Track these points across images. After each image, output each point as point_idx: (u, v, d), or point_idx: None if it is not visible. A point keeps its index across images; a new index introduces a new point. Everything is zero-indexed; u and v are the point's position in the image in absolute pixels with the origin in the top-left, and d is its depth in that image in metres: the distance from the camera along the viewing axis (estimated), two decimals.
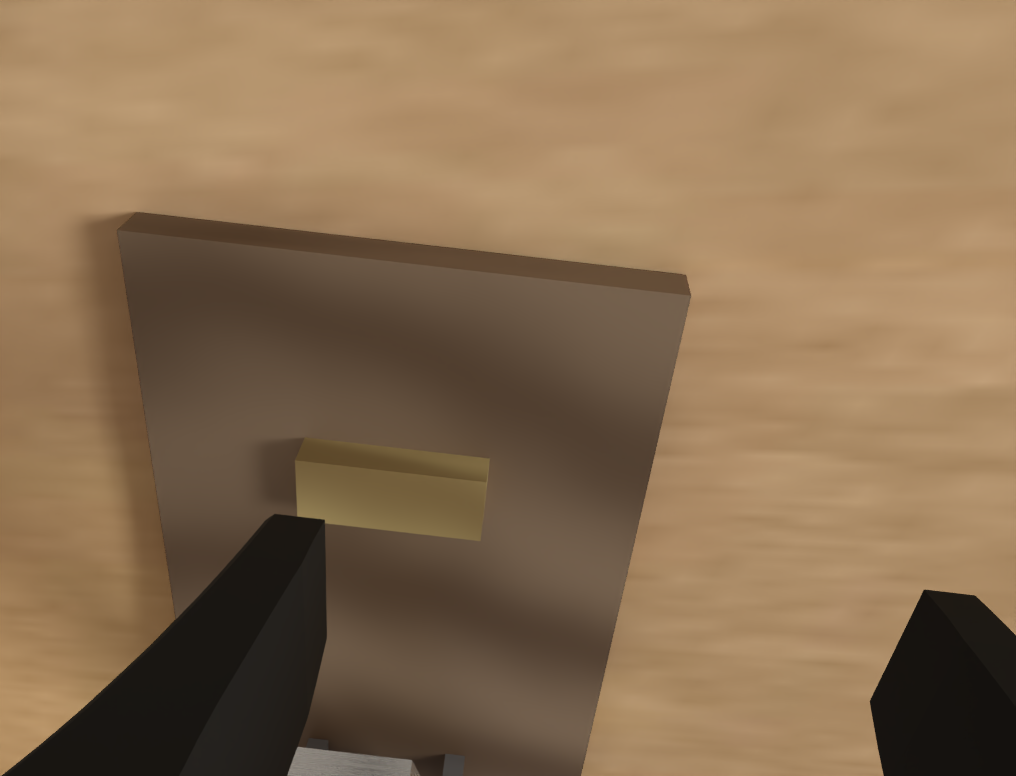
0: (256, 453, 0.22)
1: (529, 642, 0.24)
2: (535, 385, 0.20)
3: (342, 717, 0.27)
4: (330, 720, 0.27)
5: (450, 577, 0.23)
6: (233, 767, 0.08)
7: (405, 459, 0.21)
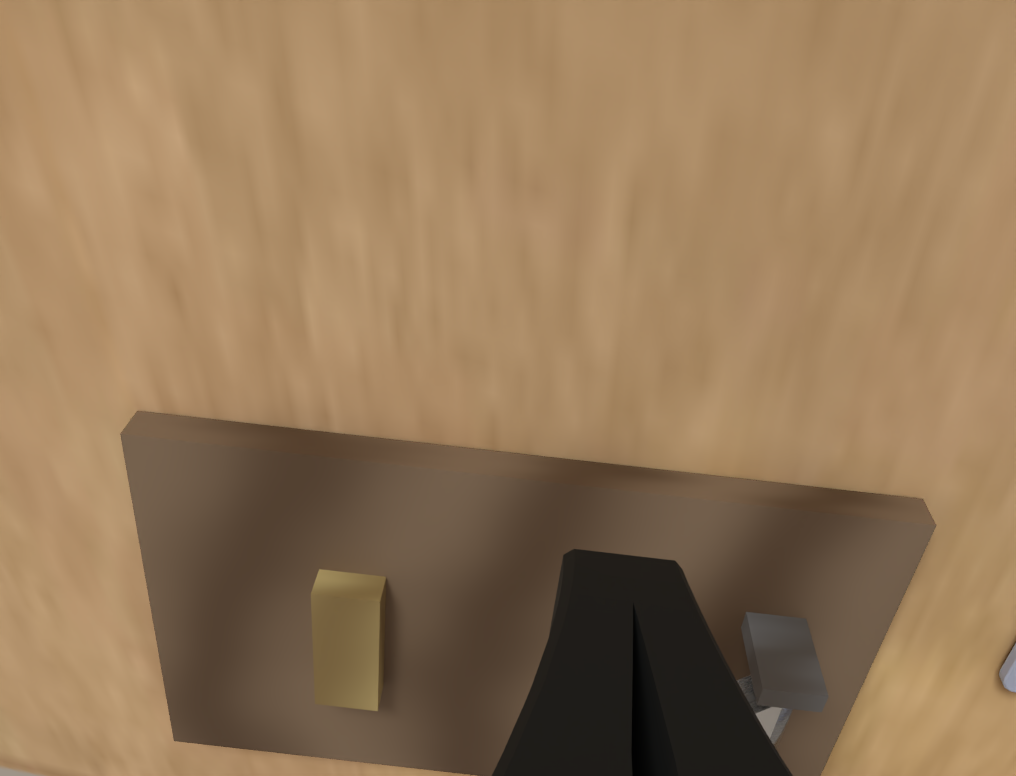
0: (344, 707, 0.27)
1: (553, 550, 0.23)
2: (236, 536, 0.23)
3: None
4: None
5: (466, 604, 0.24)
6: None
7: None
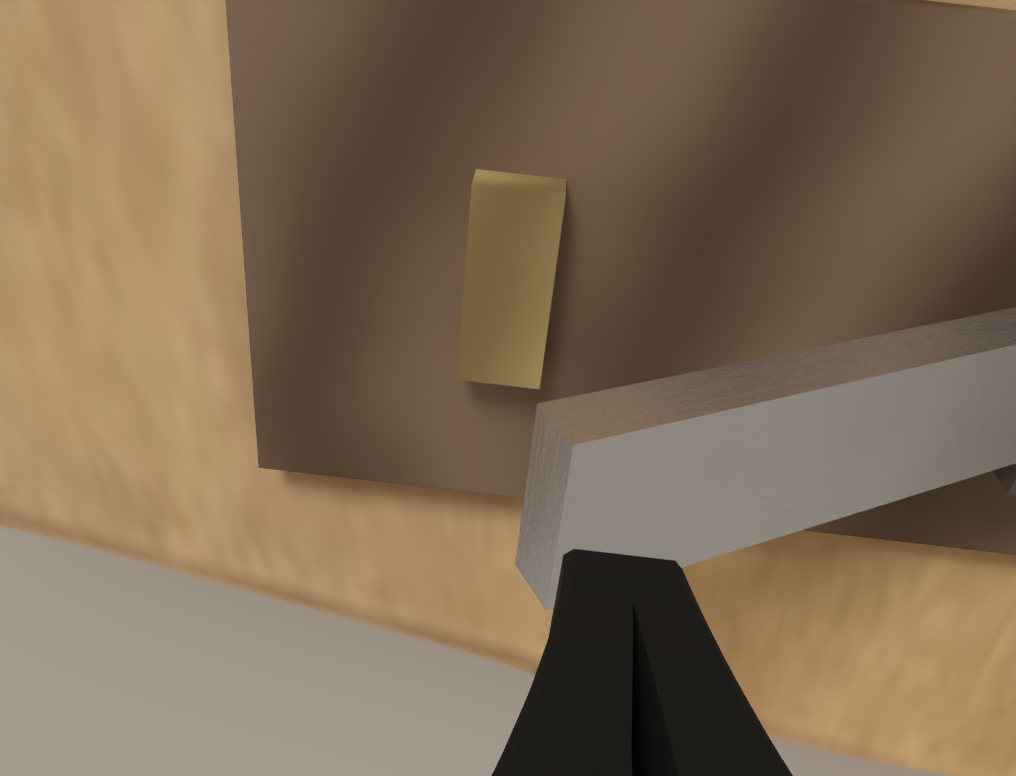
0: (486, 406, 0.21)
1: (803, 123, 0.17)
2: (367, 114, 0.17)
3: None
4: None
5: (670, 224, 0.18)
6: None
7: None
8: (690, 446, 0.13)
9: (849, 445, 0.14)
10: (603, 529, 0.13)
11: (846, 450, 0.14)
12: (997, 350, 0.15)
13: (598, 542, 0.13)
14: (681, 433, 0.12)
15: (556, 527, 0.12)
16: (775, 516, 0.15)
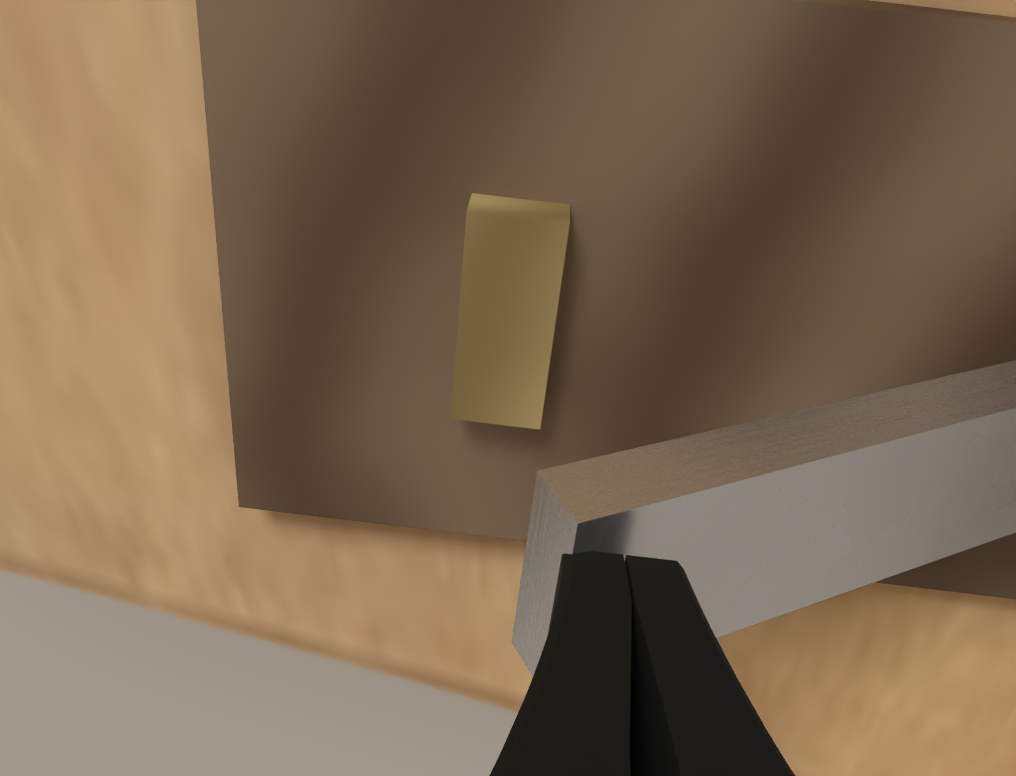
0: (482, 444, 0.19)
1: (830, 145, 0.15)
2: (353, 133, 0.16)
3: None
4: None
5: (683, 253, 0.17)
6: None
7: None
8: (710, 518, 0.11)
9: (884, 508, 0.13)
10: None
11: (880, 512, 0.13)
12: None
13: None
14: (700, 505, 0.11)
15: None
16: (801, 585, 0.13)
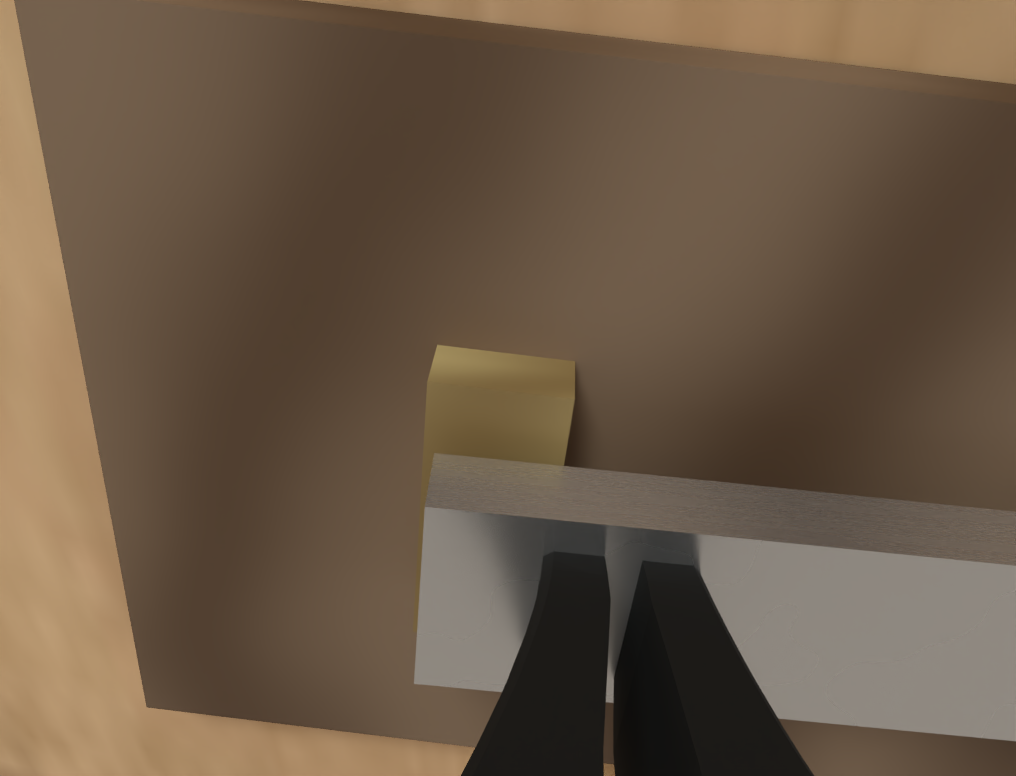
0: None
1: (949, 290, 0.11)
2: (268, 266, 0.11)
3: None
4: None
5: (732, 424, 0.12)
6: None
7: None
8: None
9: (861, 634, 0.11)
10: (480, 618, 0.11)
11: (857, 638, 0.11)
12: None
13: (476, 631, 0.11)
14: (578, 537, 0.10)
15: (419, 594, 0.11)
16: None
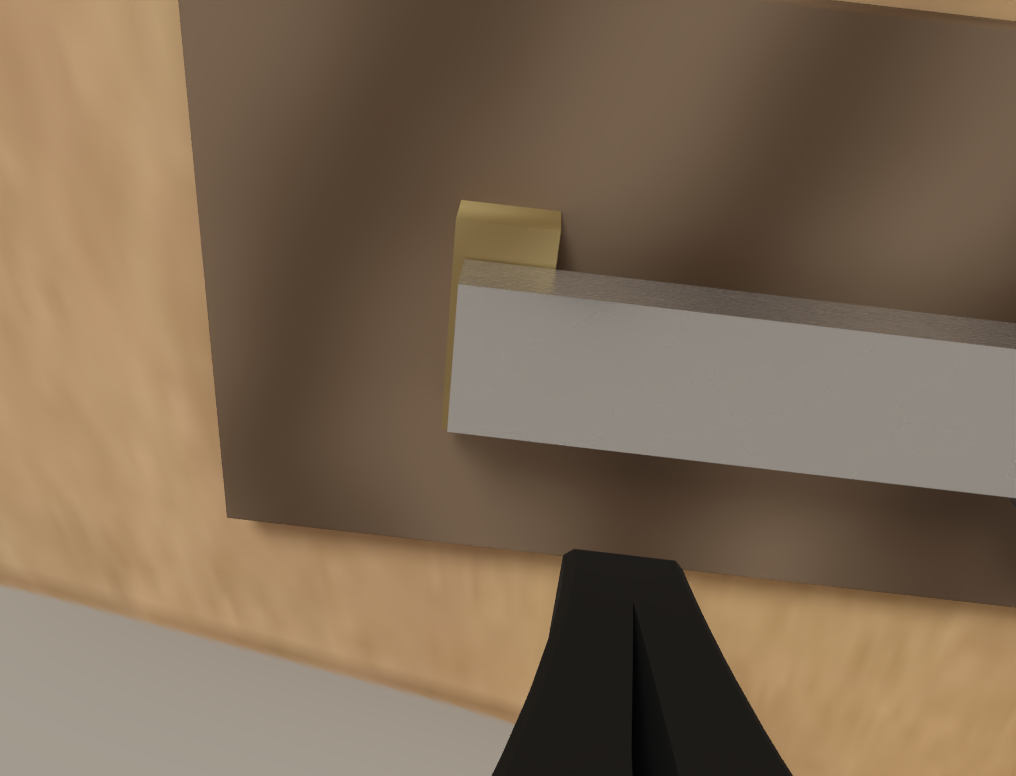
0: (473, 453, 0.19)
1: (825, 151, 0.15)
2: (340, 139, 0.16)
3: None
4: None
5: (676, 260, 0.16)
6: None
7: None
8: (573, 325, 0.15)
9: (761, 389, 0.15)
10: (494, 375, 0.16)
11: (757, 392, 0.16)
12: (951, 343, 0.15)
13: (491, 386, 0.16)
14: (562, 308, 0.15)
15: None
16: (680, 434, 0.16)
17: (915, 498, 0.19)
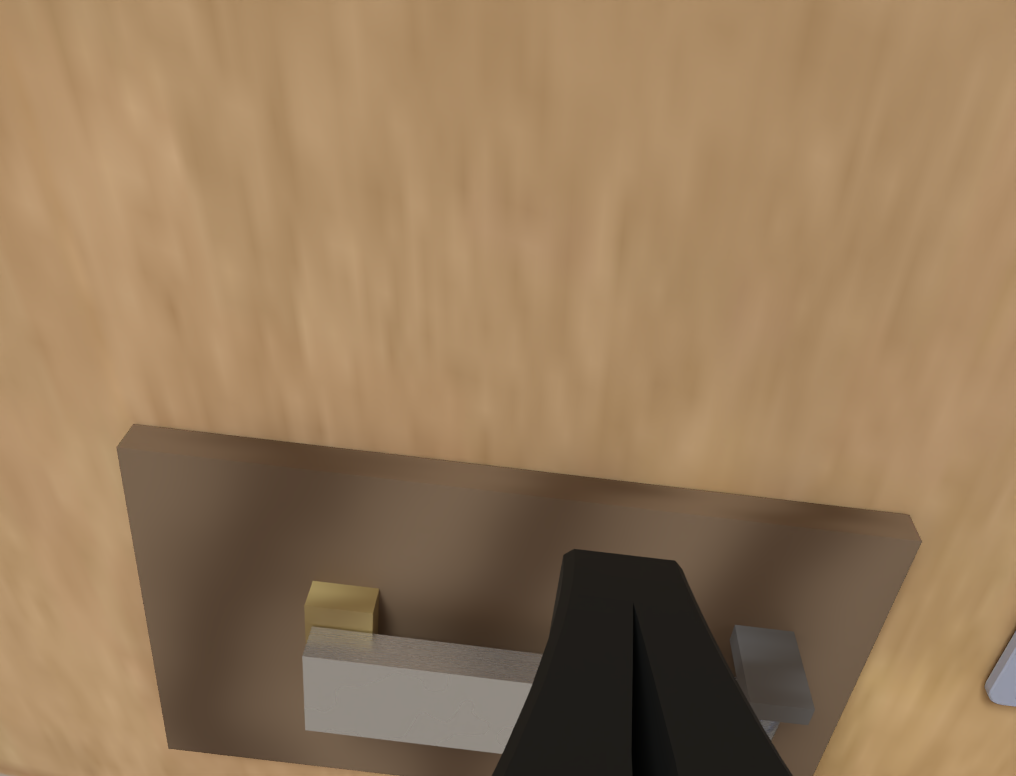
0: None
1: (544, 563, 0.23)
2: (230, 548, 0.24)
3: None
4: None
5: (459, 615, 0.25)
6: None
7: None
8: (379, 678, 0.23)
9: (505, 714, 0.24)
10: (332, 702, 0.24)
11: (503, 716, 0.24)
12: None
13: (331, 707, 0.24)
14: (370, 670, 0.23)
15: (304, 691, 0.24)
16: (458, 736, 0.24)
17: None
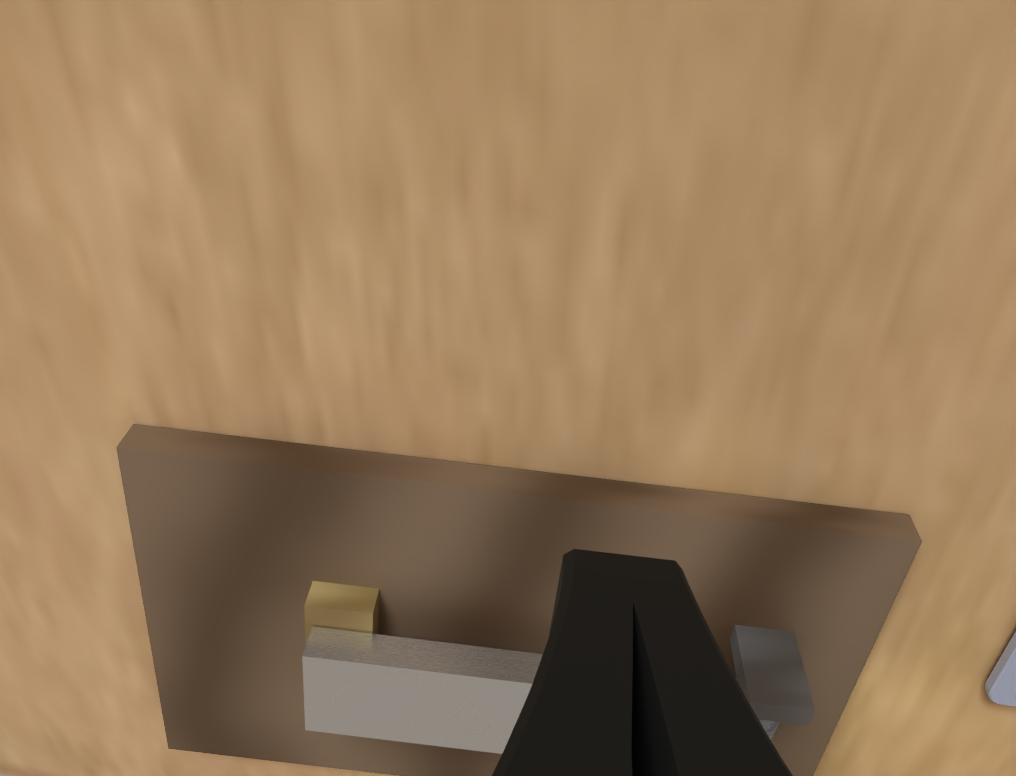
0: None
1: (544, 563, 0.23)
2: (230, 548, 0.24)
3: None
4: None
5: (459, 615, 0.25)
6: None
7: None
8: (379, 678, 0.23)
9: (505, 714, 0.24)
10: (332, 702, 0.24)
11: (503, 716, 0.24)
12: None
13: (331, 707, 0.24)
14: (370, 670, 0.23)
15: (304, 691, 0.24)
16: (458, 736, 0.24)
17: None
